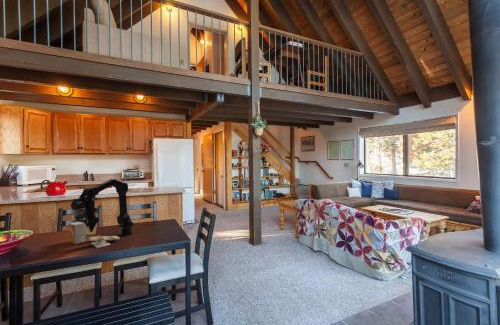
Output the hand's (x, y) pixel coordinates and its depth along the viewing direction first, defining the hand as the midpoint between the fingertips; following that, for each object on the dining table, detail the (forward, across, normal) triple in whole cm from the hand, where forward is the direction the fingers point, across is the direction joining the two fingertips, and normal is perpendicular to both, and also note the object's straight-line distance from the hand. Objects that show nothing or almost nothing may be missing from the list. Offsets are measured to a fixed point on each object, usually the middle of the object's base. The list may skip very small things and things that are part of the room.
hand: (89, 231), depth 163 cm
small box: (+10, -18, -3) cm, 21 cm away
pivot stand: (+10, 0, +6) cm, 12 cm away
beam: (+6, 0, +6) cm, 8 cm away
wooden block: (+2, 0, 0) cm, 2 cm away
